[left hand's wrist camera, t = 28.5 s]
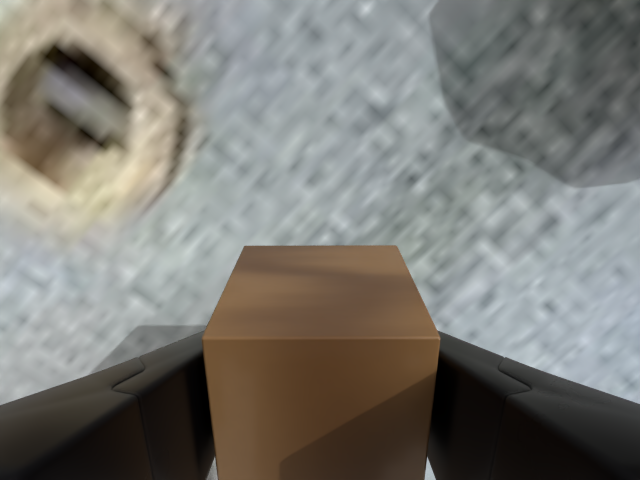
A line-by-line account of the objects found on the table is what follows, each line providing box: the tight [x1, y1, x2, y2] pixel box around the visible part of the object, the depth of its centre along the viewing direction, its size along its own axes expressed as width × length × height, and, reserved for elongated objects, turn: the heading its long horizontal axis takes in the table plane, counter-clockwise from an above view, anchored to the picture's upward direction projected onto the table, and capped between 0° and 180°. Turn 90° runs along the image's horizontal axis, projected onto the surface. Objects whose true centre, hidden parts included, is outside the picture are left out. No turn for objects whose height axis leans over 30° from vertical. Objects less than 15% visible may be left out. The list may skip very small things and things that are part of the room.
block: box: [201, 245, 441, 480], centre depth 10 cm, size 4×4×4 cm
